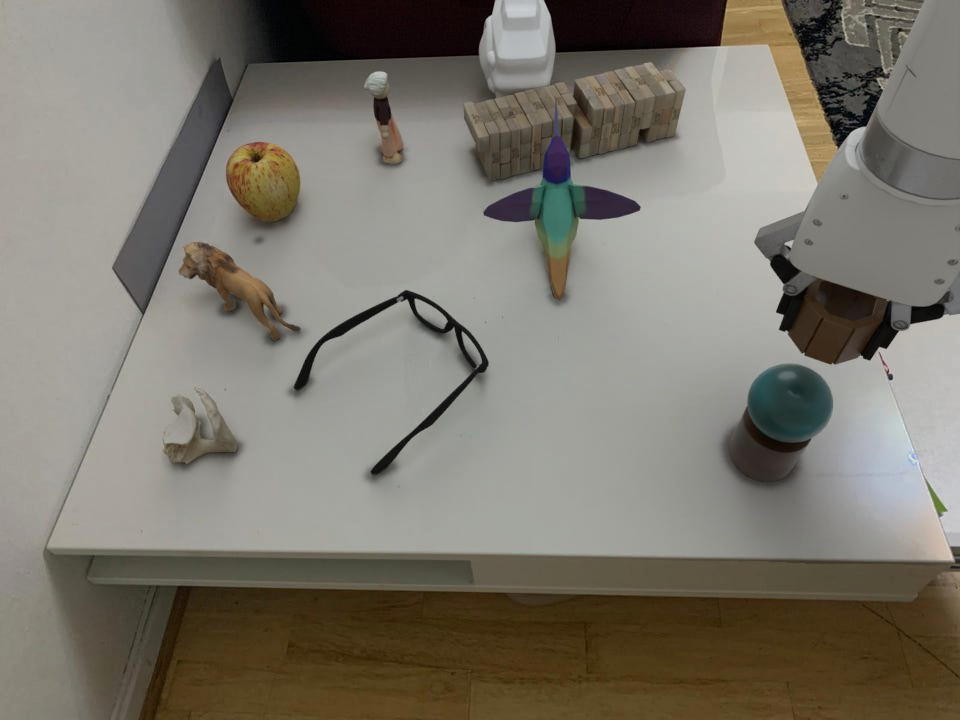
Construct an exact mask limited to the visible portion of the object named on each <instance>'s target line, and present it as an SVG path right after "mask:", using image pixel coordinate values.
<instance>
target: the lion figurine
mask: <svg viewBox="0 0 960 720" xmlns="http://www.w3.org/2000/svg"><path fill="white" fill-rule="evenodd" d="M182 248H183V250H184V254H185V256H184V257H183V259H182V261H183V263H182V265H181V267H180V268H179V269H178V274H179V275H180V276H182V277H184V278H186V279H188V280H193V279H194V278H196V277H198V279H199V280H201V281H205V282H206V283H207V285H208V286H210V287H212V288H214V289H215V290H216V292H217V293H218V295H219V297H220V298H221V299H222V300H223V301H224V302H225V303H224V306H223V309H224V311H225V312H231V311H233V310H235V309H236V307H237V305H236V301H235V300H234V299H233V298H232V297H231V294H232V295H233V296H235V297H236V298H238V299H240V300H243V301H245V303H246V305H247V307H248V309H249V310H250V311H251V313H252V315H253V316H254V317H255V318H256V320H257V321H258V322H259V323H260V324H262V325H263V326H264V327H265V328H266V329H268V331H269V332H270V334H269V338H270V340H272V341H277V340H279V338H280V337H281V333H280V331H279V329H278V328H277V327H276V325H274V324H273V323H272V322H271V321H270V320H269V318H268V317H267V315H266V313H265V308H264V306H266V308H267V309H268V311H269V312H270V314H271V315H272V317H273V318H274V319H275V320H276V321H277V322H278V323H279V324H280V325H282V326H283V327H284V328H287V329H289V330H290V331H292V332H296V333H297V332H298V333H299V332H300V331H302V328H301V327H299V326H297V325H295V324H293V323H292V324H291V323H289V322H286V321H285V320H283V318H282V317H281V316H280V315H281V314H282V312H283V309H282V308H281V306H279V305H278V304H277V301H276V299H275V295H274V292H273V291H272V289H271V288H270V287H269V286H268V285H267V284H266V283H265V282H264V281H262V280H261V279H259V278H257V277H254V276H253V275H251V274H250V273H249V272H248V271H246V270H245V269H243V268H241V267H240V266H238V264H236V262H235V260H234V258H233V257H232V256H231V255H230V254H228V253H227V252H225V251H223V250H221V249H219V248H218V247H216V246H214V245H210V243H208V242H203V241H195V242H194V241H191V242H190V243H188V244H185V245H182Z"/></svg>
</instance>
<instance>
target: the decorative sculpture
mask: <svg viewBox="0 0 960 720" xmlns="http://www.w3.org/2000/svg"><path fill="white" fill-rule="evenodd" d="M571 169H572V168H571V156H570V157H569V153H568V151H567V149H566V147H565V145H564V143H563V141H562V139H561V138H560V136H559V124H558V111H557V102H556V98H555V117H554V137H553V139H552V141H551V143H550V145H549V147H548V149H547V151H546V153H545V156H544V164H543V168H542V176H541V177H542V178H541V181H540V183H539V185H537V186H532V187H528V188H524V189H522V190H519V191H516V192H513V193H511V194H509V195H507V196H504V197H502V198H500V199H498V200H496V201H494V202H493V203H491V204H489V205H488V206H486V208H485V209H484V210H483V212H482V213H483V217H487V218H490V219H493V220H496V221H500V222H508V223H510V222H511V223H523V222H532V221H534V226H535V231H536V234H537V237H538V240H539V242H540V244H541V245H542V250H543V255H544V259H545V262H546V263H545V264H546V267H547V271H548V277H549V281H550V285H551V289H552V292H553V297H554V298H555V300H557V301H560V300H562V299H563V298H564V295H565V289H566V283H567V278H568V273H569V265H570V260H571V251H572V250H571V249H572V245H573V243H574V240H575V239H576V237H577V232H578V227H579V222H580V221H579V219H580V220H593V221H594V220H596V221H597V220H598V221H601V220H610V219H619V218H621V217H625V216H628V215H632V214H634V213H638V212H640V211H641V208H642V206H641V205H640V204H639V203H638V202H637V201H636V200H633V199H631V198H629V197H626V196H625V195H622V194H619V193H616V192H612V191H611V190H607V189H604V188H599V187H595V186H590V185H584V184H575V183H573V180H572V174H571V172H572V171H571Z"/></svg>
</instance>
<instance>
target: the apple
mask: <svg viewBox="0 0 960 720" xmlns="http://www.w3.org/2000/svg"><path fill="white" fill-rule="evenodd" d="M225 180H226V184H227V187H228V190H229V193H231V195H232V196H233V198H234V200H235V201H236V202H237V204H238V205H239V206H240V207H241V208H242V210H244V211H245V212H246V213H247V214H249V215H250V216H251V217H253V218H254V219H256V220H258V221H260V222H275V221H279V220H282V219H283V218H285V217H286V216H288V215H290V213H291V212H292V211H294V209H295V206H296V205H297V201H298V199H299V195H300V192H301V191H300V190H301V174H300V170H299V168H298V164H297V162H296V161H295V160H294V157H293V156H292V155H291V154H290V153H289V151H287V150H286V149H285V148H283V147H282V146H280V145H278V144H276V143H273V142H266V141H255V142H249V143H246V144H243V145H241V146H239V147H238V148H237V149H236V150H235V151H233V153H232V154H231V155H230V156H229V158H228V160H227V163H226V165H225Z"/></svg>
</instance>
